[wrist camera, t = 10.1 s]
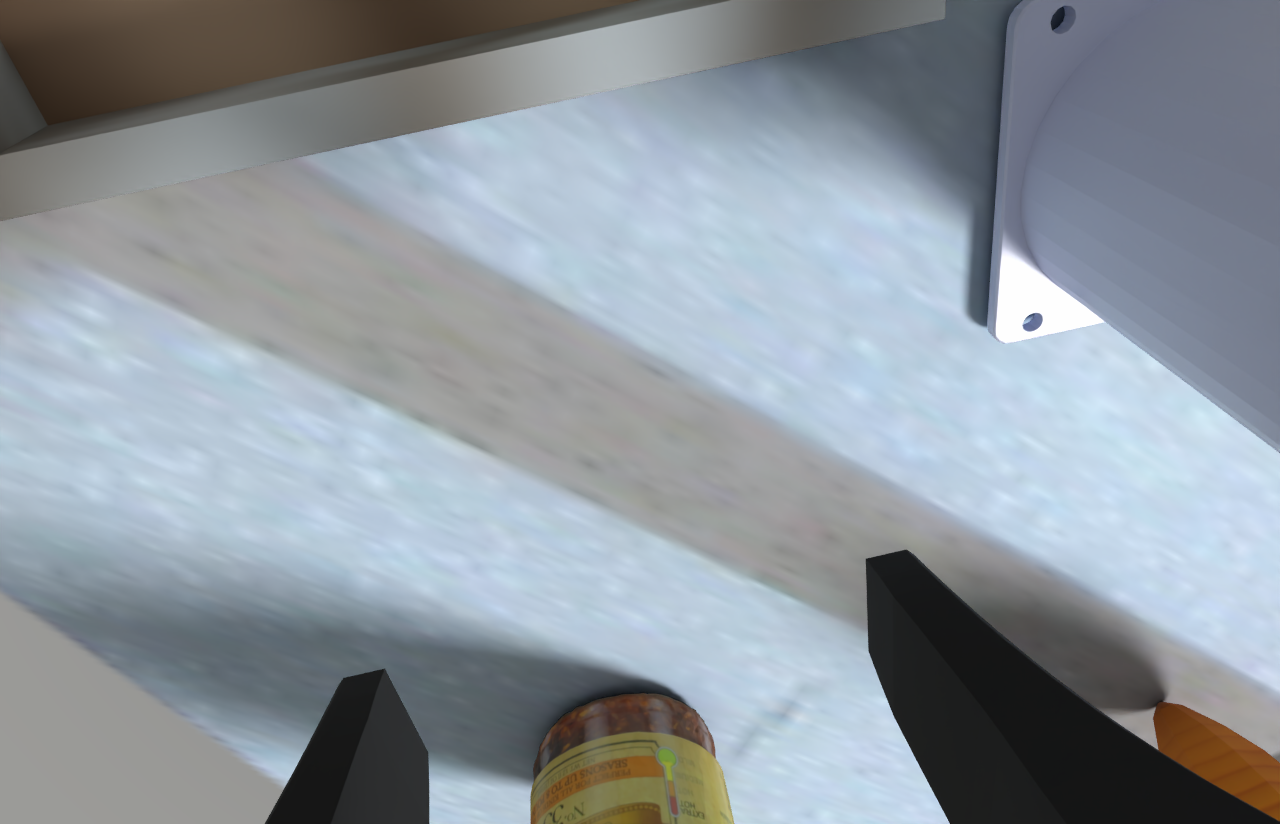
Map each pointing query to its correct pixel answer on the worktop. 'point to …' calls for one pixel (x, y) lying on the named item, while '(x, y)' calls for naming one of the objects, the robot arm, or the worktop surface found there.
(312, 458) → the worktop surface
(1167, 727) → the carrot
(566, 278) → the worktop surface
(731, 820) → the sauce bottle
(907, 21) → the corral
